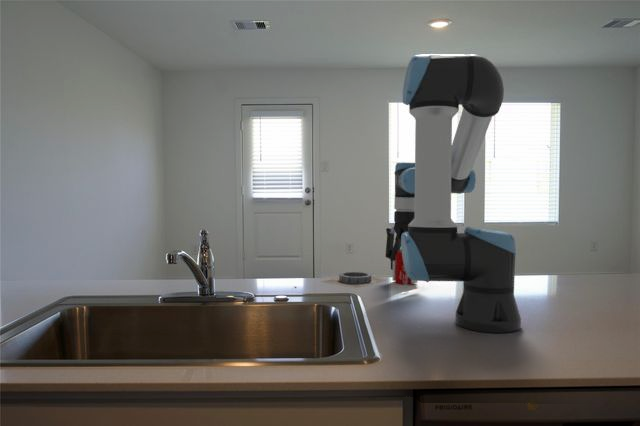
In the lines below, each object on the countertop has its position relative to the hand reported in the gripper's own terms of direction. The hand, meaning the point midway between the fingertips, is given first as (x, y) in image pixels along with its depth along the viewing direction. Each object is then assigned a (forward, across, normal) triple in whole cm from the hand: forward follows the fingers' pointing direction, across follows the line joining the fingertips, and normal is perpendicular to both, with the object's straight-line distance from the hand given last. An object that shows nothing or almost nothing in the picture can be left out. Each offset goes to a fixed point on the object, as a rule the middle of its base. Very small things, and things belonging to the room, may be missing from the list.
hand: (404, 281), depth 169 cm
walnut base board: (+2, +14, +8) cm, 16 cm away
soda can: (+2, 0, 0) cm, 2 cm away
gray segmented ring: (0, +14, +8) cm, 16 cm away
